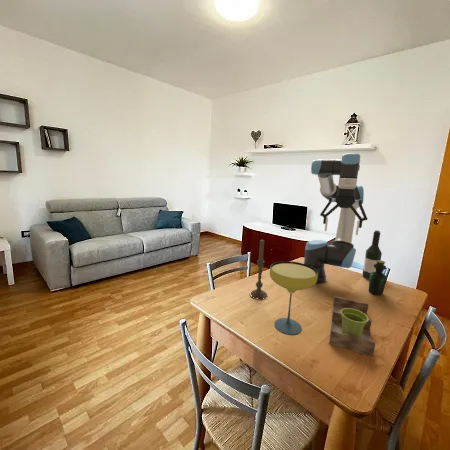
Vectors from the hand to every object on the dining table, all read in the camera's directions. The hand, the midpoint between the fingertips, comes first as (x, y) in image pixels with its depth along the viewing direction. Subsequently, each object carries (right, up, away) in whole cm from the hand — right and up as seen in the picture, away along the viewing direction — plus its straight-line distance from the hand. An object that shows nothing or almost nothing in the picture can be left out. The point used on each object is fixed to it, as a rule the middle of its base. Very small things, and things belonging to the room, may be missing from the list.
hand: (340, 232), depth 116 cm
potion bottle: (+26, -33, +15) cm, 45 cm away
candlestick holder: (-39, -33, +8) cm, 51 cm away
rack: (-4, -39, -17) cm, 42 cm away
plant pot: (-7, -39, -23) cm, 46 cm away
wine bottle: (+35, -29, +36) cm, 58 cm away
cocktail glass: (-30, -38, -17) cm, 52 cm away
